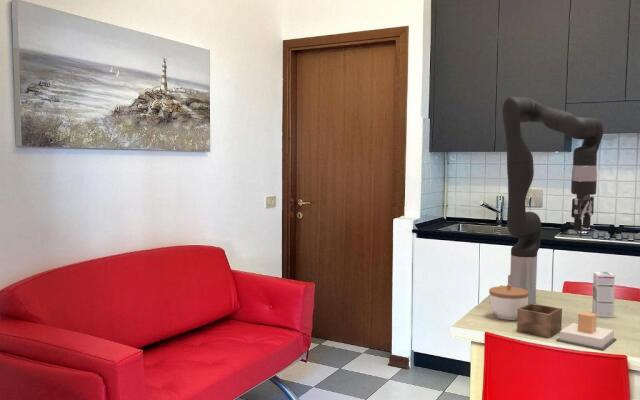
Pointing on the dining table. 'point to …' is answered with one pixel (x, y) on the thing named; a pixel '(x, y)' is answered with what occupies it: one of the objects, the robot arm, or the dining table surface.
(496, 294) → the lidded bowl
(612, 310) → the syrup box
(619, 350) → the dining table surface
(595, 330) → the lid
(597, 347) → the mat
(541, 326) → the storage box
